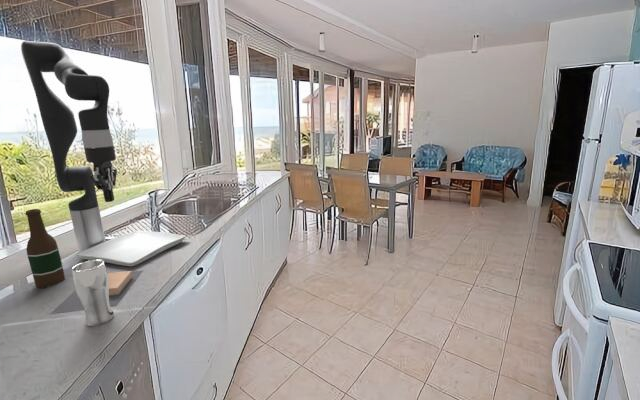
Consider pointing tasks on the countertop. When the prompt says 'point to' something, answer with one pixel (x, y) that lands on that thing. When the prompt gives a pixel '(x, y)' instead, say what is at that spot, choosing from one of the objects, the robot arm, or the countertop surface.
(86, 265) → the beer glass
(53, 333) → the countertop surface
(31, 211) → the beer bottle
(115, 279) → the tile
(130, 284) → the mat
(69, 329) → the countertop surface
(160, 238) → the square plate
